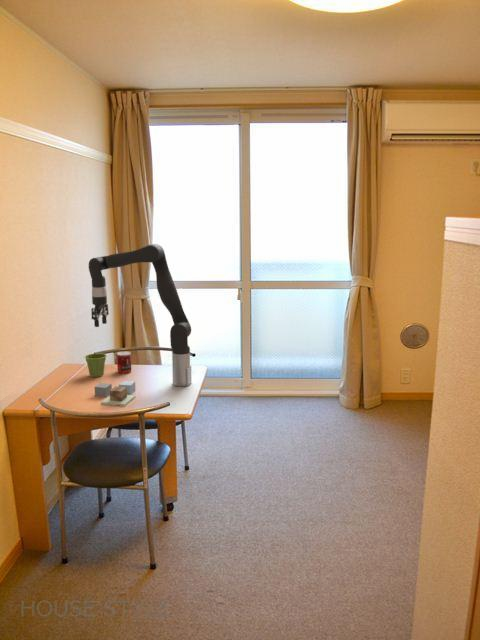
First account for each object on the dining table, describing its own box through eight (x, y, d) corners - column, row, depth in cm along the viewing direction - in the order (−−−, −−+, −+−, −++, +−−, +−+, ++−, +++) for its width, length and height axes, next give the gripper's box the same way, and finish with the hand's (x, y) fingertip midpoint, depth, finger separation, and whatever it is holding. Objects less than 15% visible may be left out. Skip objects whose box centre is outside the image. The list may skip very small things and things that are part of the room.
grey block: (111, 393, 256) (111, 383, 255) (106, 397, 250) (105, 387, 249) (100, 392, 257) (100, 382, 256) (95, 396, 252) (94, 386, 251)
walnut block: (127, 397, 248) (126, 387, 247) (121, 401, 242) (121, 391, 241) (115, 396, 249) (115, 386, 248) (109, 400, 243) (109, 390, 242)
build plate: (135, 397, 250) (135, 395, 250) (124, 406, 239) (124, 404, 238) (112, 395, 253) (112, 393, 253) (101, 404, 241) (101, 402, 241)
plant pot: (109, 372, 289) (108, 353, 287) (105, 378, 278) (104, 358, 276) (88, 372, 289) (87, 353, 287) (82, 378, 277) (81, 358, 275)
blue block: (135, 391, 260) (135, 381, 259) (130, 395, 254) (130, 385, 253) (124, 390, 261) (124, 380, 260) (119, 394, 255) (118, 384, 254)
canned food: (121, 374, 285) (120, 355, 283) (115, 371, 291) (114, 352, 289) (134, 372, 290) (133, 353, 288) (127, 368, 296) (126, 350, 294)
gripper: (99, 297, 263) (100, 328, 267) (112, 293, 277) (113, 322, 280) (86, 297, 265) (87, 327, 268) (99, 293, 279) (100, 322, 282)
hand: (100, 325), depth 274 cm, fingers open, 8 cm apart
